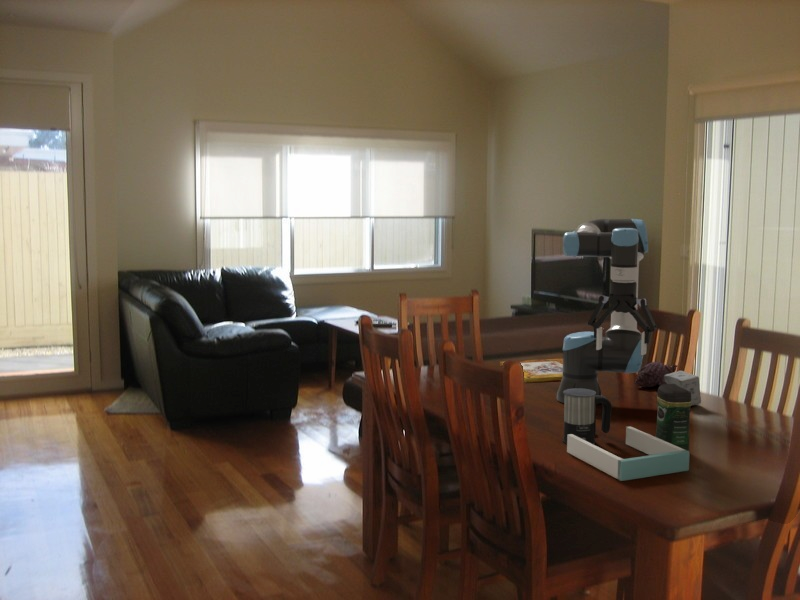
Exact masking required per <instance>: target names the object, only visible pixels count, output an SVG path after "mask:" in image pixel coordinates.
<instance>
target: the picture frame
mask: <svg viewBox="0 0 800 600" xmlns="http://www.w3.org/2000/svg"><path fill="white" fill-rule="evenodd" d="M518 361H519V362H520V363H521V365H522V366H523V372H524V381H523V382H524V383H539V382H540V383H541V382H542V383H543V382H559V381H560V382H561V380H562V377H563V358H549V359H548V358H546V359H528V360H527V359H526V360H518ZM504 362H505V360H504V361H499V366H500V367H501V366H502V365H503V363H504Z"/></svg>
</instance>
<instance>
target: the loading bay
mask: <svg viewBox="0 0 800 600" xmlns="http://www.w3.org/2000/svg"><path fill="white" fill-rule="evenodd" d="M625 445H627V446H629V447H632V448H634V449H635V450H637V451H640V452H642V453H644V454H647V455H642V456H637V457H636V456H635V457H629V458H622V457H620V456H619V455H618V456H617V455H615V454H614V453H611V452H610V451H607V450H605V449H603V448H601V447H599V446H597V445H595V444H591V443H589V442H587V441H585V440H583V439H581V438H579V437H577V436H575V435H573V434H568V435H567V444H566V453H568V454H570V455H571V456H574V457H575V458H577V459H579V460H581V461H583V462H584V463H586V464H588V465H591V466H592V467H594V468H596V469H598V470H599V471H601V472H604V473H605V474H607V475H609V476H611V477H612V478H615V479H617V480H618V481H620V482H622V481H623V482H624V481H631V480H636V479H643V478H648V477H649V478H650V477H656V476H661V475H668V474H674V473H680V472H688V471H689V469H690V450H689V451H687V450H685V449H682V448H680V447H678V446H675V445H673V444H671V443H668V442H666V441H664V440H661V439H659V438H657V437H656V436H654V435H652V434H650V433H648V432H644V431H642V430H640V429H637V428H635V427H633V426H625Z"/></svg>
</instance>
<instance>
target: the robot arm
mask: <svg viewBox="0 0 800 600" xmlns="http://www.w3.org/2000/svg"><path fill="white" fill-rule="evenodd" d="M648 238H649V237H648V229H647V224H646V222H645V221H644V220H643V219H636V218H596V219H591V220H588V221H586V222H582V223H581V224H579V225H578V226H577V227H576V228H575V229H574V230H573V231H567V232H565V233H564V234H563V240H562V252H563V255H564V256H566V257H574V258H577V257H583V258H584V257H588V258H589V257H593V258H594V257H595V258H596V257H598V258H609V259H610V280H611V281H610V283H609V285H610V286H609V296H606V295H605V294H603V295H602V294H601V295H600V296H599V298H598V303H597V304H596V307H595V308H594V311H593V312H592V314H591V315H590V317H589V320H588V322H587V325H588V326H591V327H592V328H593V331H578V332H573V333H569V334H567V335H566V336H565V337H564V338H563V346H562V351H563V352H562V353H563V354H562V355H563V356H562V359H563V377H562V380H561V381H560V383H559V386H558V390H557V392H556V400H557V402H560V403H562V404H564V394H563V392H564V390H567V389H573V388H583V389H590V390H593V391H595V392H596V394H595V395H601V396H603V393H602V391H601V390H602V389H601V386H600V383H599V381H598V372H605V373H622V374H636V373H637V374H638V373H640V371H641V369H642V366H643V365H642V364H643V358H644V355H647V347H648V344H650V342H651V333H652V332H653V333H654V332H656V331H657V330H658V326H657V324H656V322H655V320H654V317H653V315H652V313H651V311H650V308H649V306H648V299H647V298H646V297H644V298H639V270H640V269H639V266H640V261H642V260H643V259H644V254H648V252H649V241H648ZM607 302H608V303H609V304H610V307H608V309H606V311H605V312H604V313H603V314H602V315H601V316H600V317H599V315H600V313H601V311H602V310H603V308H604V306H605V304H606V303H607ZM638 306H639V307H640V309H641V311H642V314H643V316H644V318H645V319H644V318H643V317H642V315H641V314H640V312H639V310H638ZM598 317H599V319H598ZM609 317H610V327H609V328H608V329H607V330H606V331H605V336H603V327H602V326H601V325H602V324H603V323H604V322H605V321H606V320H607V319H608V318H609ZM597 319H598V320H597ZM638 326H640V328H641V329H642V331H643V332H640V330H639V329H638ZM599 404H600V403H596V405H599Z"/></svg>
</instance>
